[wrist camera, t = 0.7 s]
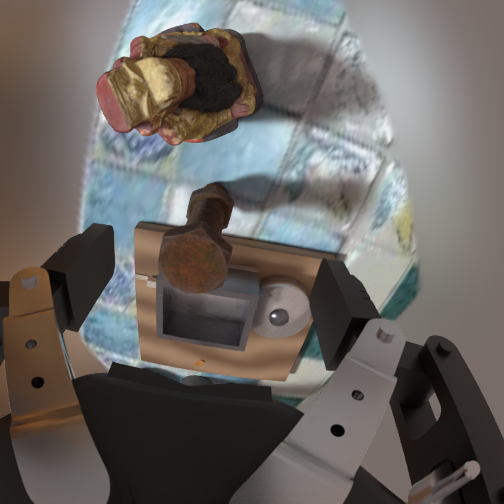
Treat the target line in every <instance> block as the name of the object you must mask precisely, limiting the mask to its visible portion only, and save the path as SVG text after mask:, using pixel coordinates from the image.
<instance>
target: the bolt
mask: <svg viewBox="0 0 504 504" xmlns="http://www.w3.org/2000/svg"><path fill="white" fill-rule="evenodd" d="M233 205H234V201H233V200H232V199H231V198H230V197H229V196H228V193H227V190H226V189H225V188H224V187H223V186H222V185H220V184H218V183H210V184H207V185H206V186H205V187H204V188H201V189H198V190H195V191H193V192H192V194H191V197H190V201H189V205H188V210H187V216H186V218H187V219H188V220H187V223H186V225H184V226H180V227H176V228H172V229H168V230H166V232H165V233H164V235H163V237H162V242H161V246H160V251H159V258H158V271H159V272H160V274H161V275H162V276H163V278H164V279H165V280H166V281H167V282H168V283H170V284H171V285H172V286H173V287H175V288H177V289H178V290H180V291H183V292H185V293H190V294H201V293H206V292H210V291H213V290H215V289H218V288H220V287H222V286H223V284H224V281H225V278H226V274H227V271H228V268H229V264H230V260H231V256H232V249H233V247H232V246H231V245H230V244H229V243H228V242H227V241H226V240H225V239H223V238H222V237H221V233H222V230H223V229H225V228H227V227H228V224H229V220H230V217H231V213H232V209H233Z"/></svg>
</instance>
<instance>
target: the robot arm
mask: <svg viewBox="0 0 504 504" xmlns="http://www.w3.org/2000/svg"><path fill="white" fill-rule="evenodd" d="M114 268H115V252H114V230H113V227H112V226H111V225H105V224H98V223H93V224H92V225H91V226H90V227H89V228H87V229H86V230H85V231H84V232H83V233H82V234H81V233H80V234H78V235H76V236H74V237H72V238H70V239H69V240H68V241H67V242H66V243H64V244H63V246H62V247H60V248H59V249H58V250H57V252H55V253H54V254H53V255H52V256H51V257H50V258H49V259H48V260H47V261H46V262H45V263H44V264H43V265H42V266H41V267H28V268H24V269H21V270H19V271H18V272H16V273H15V274H14V275H13V276H12V278H11V279H10V281H0V365H1V364H2V362H3V360H4V361H5V372H6V381H7V390H8V397H9V403H10V409H11V413H10V414H8V415H6V416H5V417H3V418H1V419H0V504H504V439H503V437H502V434H501V432H500V430H499V428H498V426H497V423H496V422H495V419H494V417H493V415H492V412H491V411H490V408H489V406H488V404H487V402H486V400H485V399H484V396H483V394H482V392H481V391H480V389H479V387H478V385H477V383H476V381H475V379H474V377H473V375H472V373H471V372H470V370H469V368H468V366H467V364H466V363H465V361H464V359H463V357H462V356H461V354H460V352H459V351H458V349H457V347H456V346H455V345H454V344H453V343H452V342H450V341H449V340H448V339H446V338H444V337H441V336H437V335H435V336H430V337H429V338H428V339H427V341H426V343H425V344H424V346H421V345H418V344H414V343H410V342H407V341H406V337H405V335H404V333H403V331H402V330H401V329H400V328H399V327H398V326H397V325H395V324H394V323H392V322H390V321H387V320H384V319H382V318H381V317H380V315H379V313H378V311H377V309H376V307H375V305H374V304H373V302H372V300H370V296H369V295H368V293H367V291H366V289H365V287H364V286H363V284H362V283H361V282H360V281H359V280H358V279H357V278H356V277H355V276H354V275H350V273H349V271H348V269H347V267H346V266H345V264H344V262H343V261H339V260H333V259H326V258H324V259H323V260H322V261H321V263H320V266H319V269H318V272H317V275H316V278H315V282H314V285H313V288H312V290H311V294H310V301H309V306H310V311H311V314H312V318H313V321H314V325H315V329H316V332H317V336H318V340H319V344H320V347H321V351H322V355H323V359H324V363H325V367H326V370H329V371H335V373H334V374H333V376H332V377H331V378H330V380H329V381H328V383H327V384H326V386H325V387H324V389H323V390H322V391H321V393H320V394H319V396H318V397H317V398H316V400H315V401H314V403H313V404H312V405H311V407H310V408H309V409H308V411H307V412H306V413H305V414H304V413H302V412H301V411H299V410H298V409H296V408H294V407H293V406H291V405H288V404H286V403H284V402H281V401H279V400H276V399H272V394H271V387H268V386H256V385H245V384H235V383H227V384H214V385H199V386H189V385H185V384H182V383H179V382H177V381H174V380H172V379H169V378H167V377H164V376H162V375H160V374H157V373H155V372H152V371H150V370H146V369H141V368H137V367H132V366H128V365H123V364H119V363H115V362H112V365H111V367H110V370H109V372H108V373H95V374H89V375H85V376H81V377H78V378H75V375H74V371H73V368H72V365H71V362H70V358H69V355H68V351H67V348H66V344H65V340H64V337H63V333H64V331H65V329H67V330H71V331H75V332H78V331H79V329H80V327H81V326H82V324H83V322H84V321H85V319H86V317H87V316H88V314H89V312H90V311H91V309H92V307H93V306H94V304H95V303H96V301H97V299H98V298H99V296H100V295H101V293H102V292H103V290H104V288H105V287H106V285H107V284H108V282H109V281H110V279H111V278H112V276H113V273H114ZM434 393H436V395H437V398H438V400H439V403H440V405H441V415H440V417H439V419H438V421H436V419H435V416H434V414H433V411H432V408H431V406H430V403H429V401H428V400H429V398H430V397H431V396H432V395H433V394H434ZM388 403H390V406H391V409H392V413H393V416H394V419H395V423H396V426H397V429H398V433H399V437H400V440H401V444H402V448H403V452H404V456H405V460H406V464H407V467H408V472H409V476H410V480H411V484H412V488H411V489H410V491H409V494H408V501H407V502H406V503H405V502H404V501H402V500H401V499H400V498H398V497H397V496H396V495H395V494H394V493H392V492H391V491H390V490H389V489H388V488H386V487H385V486H384V485H383V484H382V483H380V482H379V481H378V480H377V479H376V478H374V477H373V476H372V475H371V474H370V473H369V472H367V471H366V470H365V469H364V468H363V467H362V466H360V464H361V462H362V460H363V458H364V456H365V454H366V452H367V450H368V448H369V446H370V444H371V442H372V440H373V437H374V435H375V433H376V431H377V429H378V427H379V424H380V422H381V420H382V417H383V415H384V413H385V410H386V408H387V405H388Z"/></svg>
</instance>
